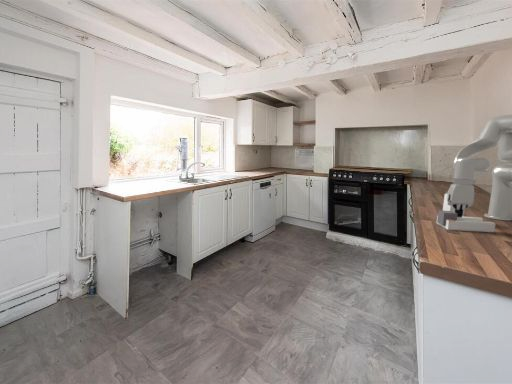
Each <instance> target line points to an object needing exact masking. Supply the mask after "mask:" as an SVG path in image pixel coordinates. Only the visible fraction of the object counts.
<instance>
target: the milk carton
mask: <svg viewBox="0 0 512 384" xmlns="http://www.w3.org/2000/svg"><path fill="white" fill-rule="evenodd" d="M448 192H449V189H448V190H447V191H446V192H445V193H444V198H443V205H442V211H453V212H455V208H454V207H453V206H450V205H448V201H447V196H448ZM452 204H453V203H452ZM459 205H460V204H459ZM462 216H463V217H465V210H463V215H462Z"/></svg>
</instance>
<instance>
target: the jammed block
mask: <svg viewBox="0 0 512 384" xmlns="http://www.w3.org/2000/svg"><path fill="white" fill-rule="evenodd" d="M437 215H438V219H437V218H436V221H437V223H439V224H441V225H443V226H446V219H452V220H457V215H458V214H457V213H455V212H453V211H443V210H437ZM437 223H436V224H437ZM439 224H438V225H439ZM441 225H440V226H441Z"/></svg>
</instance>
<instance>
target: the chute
mask: <svg viewBox="0 0 512 384" xmlns="http://www.w3.org/2000/svg"><path fill="white" fill-rule="evenodd" d="M436 217H437V218H436V224H437V225H439V226H440V227H442V228H444V229H446V230H448V231H449V230H450V231H463V232H465V231H466V232H482V233H483V232H487V233H495V232H496V223H495V222H493V221H483V220H484V218H483V217H478V216H464V217H463V216H462V217H457V220H452V219H446V226H443V225H441V224H439V223H437V219H438V214H437V216H436Z"/></svg>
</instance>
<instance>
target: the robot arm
mask: <svg viewBox="0 0 512 384" xmlns="http://www.w3.org/2000/svg"><path fill="white" fill-rule="evenodd" d="M497 144H498V147H497V160H498V162H501V163H511V164H500V165H496V166H494V167H493V169H491V170H492V171H491V178H492V184H491V185H492V186H491V192H490V198H489V199H490V200H489V205H488V213H487V212H486V213H484V214H483V216H484V217H485V218H488V219H492V220H493V219H494V220H497V221H512V114H505V115H499V116H496V117H493V118H492V117H491V118H490V119H488V120H487V121H486V122H485V124H484V126H483V127H482V129H481V131H480V133H479V134H478V136H477V138H476V139H475V140H474V141H471V142H470V143H468V144H467V145H465V146H464V147H462V148H461V149H460V150H459V151H458V153H457V154H456V156H455V158H454V159H453V162H452V168H453V170H454V175H453V180H452V181H453V182H452V184H451V183H450V186H449V188H448V190H449V192H448V196H447V201H448V205H450V206H453V207H454V208H455V213H457V214H458V215H457V217H462V215H463V210H464V211H465V210H466V209H467V208H468V207H473V205H474V201H475V185H474V184H475V183H476V180H475V179H474V176H475V173H483V172H485V171H487V170H488V169H489V167H490V166H491V165H490V164H491V163H490V160H488V158H486V157H479V156H477V157H475V156H473V157H472V155H474V154H476V153H480V152H483V151H487V150H490V149H492V148H494V147H496V146H497ZM452 203H453V204H452ZM459 204H460V205H459Z"/></svg>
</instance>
